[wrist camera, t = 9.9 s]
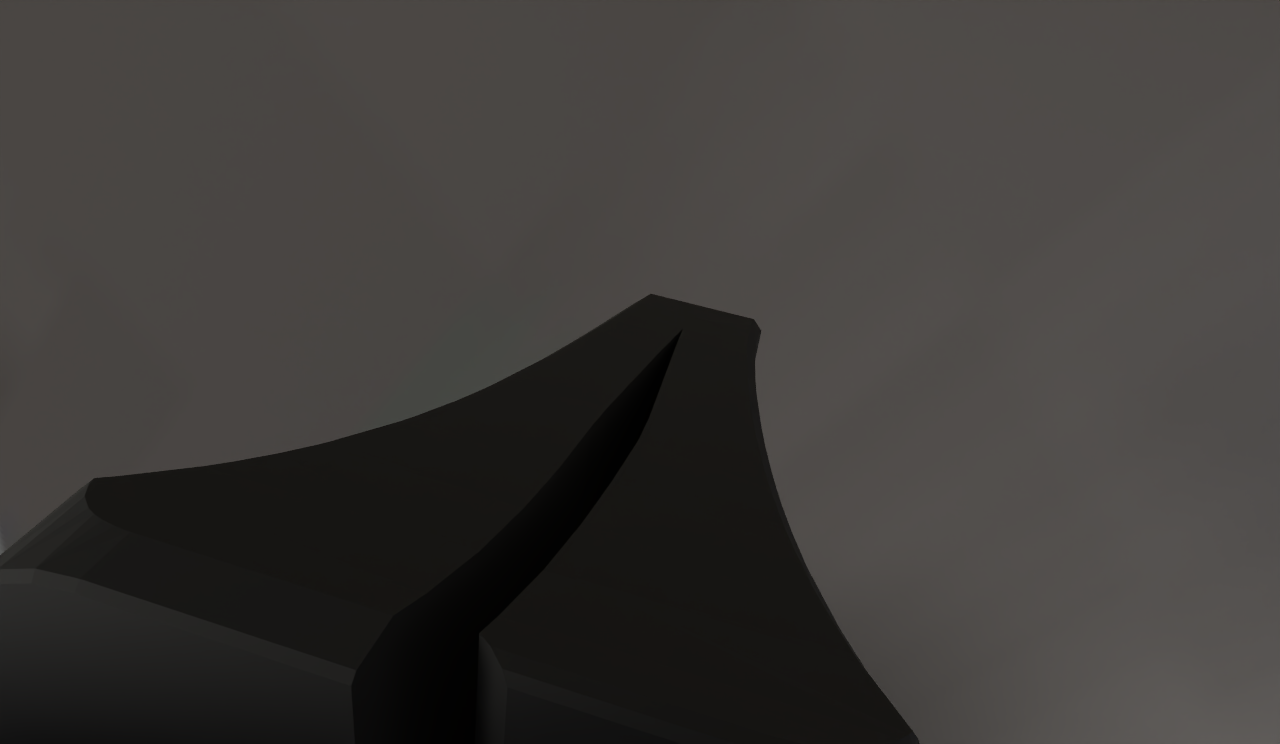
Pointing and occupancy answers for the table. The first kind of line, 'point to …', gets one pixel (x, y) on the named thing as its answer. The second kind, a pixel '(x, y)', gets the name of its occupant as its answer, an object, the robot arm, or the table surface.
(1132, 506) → the table surface
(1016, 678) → the table surface
